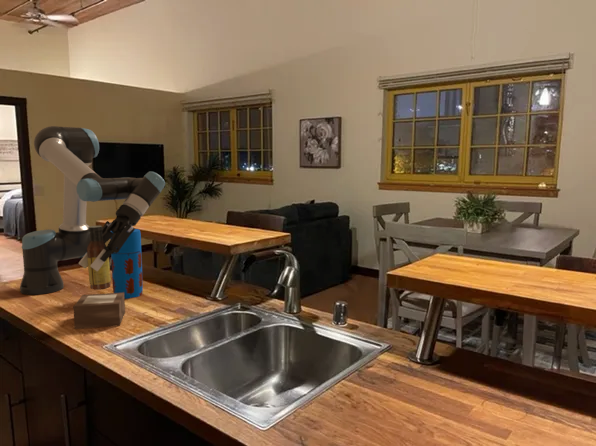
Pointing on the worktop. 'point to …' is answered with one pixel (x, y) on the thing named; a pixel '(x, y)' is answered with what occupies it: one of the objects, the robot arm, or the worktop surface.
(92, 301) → the block
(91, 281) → the sauce bottle
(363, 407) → the worktop surface
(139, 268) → the thermos
